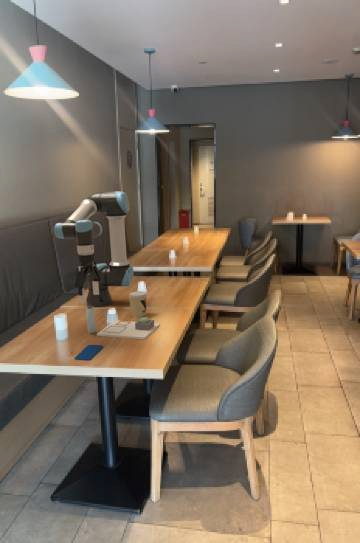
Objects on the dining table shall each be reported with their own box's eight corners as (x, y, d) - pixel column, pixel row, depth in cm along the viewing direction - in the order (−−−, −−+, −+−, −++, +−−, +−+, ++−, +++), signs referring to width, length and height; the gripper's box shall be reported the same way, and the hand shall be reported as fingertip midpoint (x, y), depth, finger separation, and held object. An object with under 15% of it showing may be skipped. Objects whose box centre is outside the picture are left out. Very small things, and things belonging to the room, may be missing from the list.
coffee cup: (145, 317, 235) (143, 295, 232) (127, 317, 237) (126, 295, 234) (149, 312, 244) (148, 291, 241) (133, 312, 246) (132, 290, 243)
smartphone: (73, 358, 184) (88, 344, 198) (73, 360, 184) (88, 346, 198) (90, 359, 182) (104, 345, 196) (90, 362, 182) (104, 347, 196)
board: (97, 335, 211) (96, 327, 210) (115, 322, 229) (115, 314, 228) (144, 339, 203) (144, 331, 203) (159, 325, 222) (159, 317, 221)
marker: (86, 332, 215) (84, 307, 212) (90, 330, 218) (88, 305, 216) (93, 333, 214) (91, 307, 211) (96, 330, 217) (94, 305, 214)
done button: (139, 325, 215) (139, 319, 215) (142, 322, 219) (142, 317, 218) (147, 325, 214) (146, 320, 213) (150, 323, 218) (149, 317, 217)
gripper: (79, 258, 195) (83, 305, 200) (105, 249, 219) (108, 291, 223) (64, 258, 198) (68, 304, 202) (91, 249, 221) (94, 291, 225)
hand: (89, 298), depth 212 cm, fingers open, 13 cm apart
